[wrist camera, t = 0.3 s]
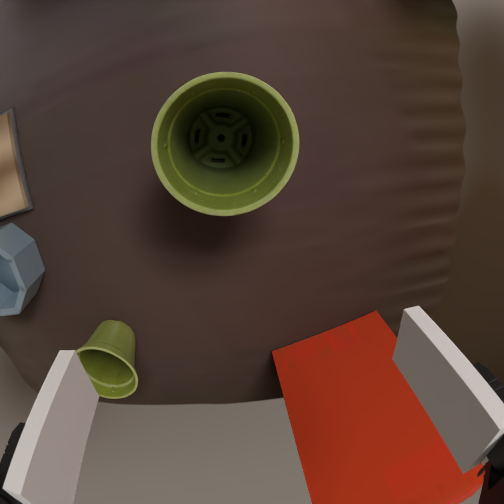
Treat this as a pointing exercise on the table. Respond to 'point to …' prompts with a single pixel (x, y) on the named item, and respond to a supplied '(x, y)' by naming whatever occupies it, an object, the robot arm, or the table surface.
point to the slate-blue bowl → (18, 269)
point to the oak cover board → (9, 171)
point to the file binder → (365, 422)
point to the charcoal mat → (20, 163)
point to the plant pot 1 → (111, 359)
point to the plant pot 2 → (225, 144)
